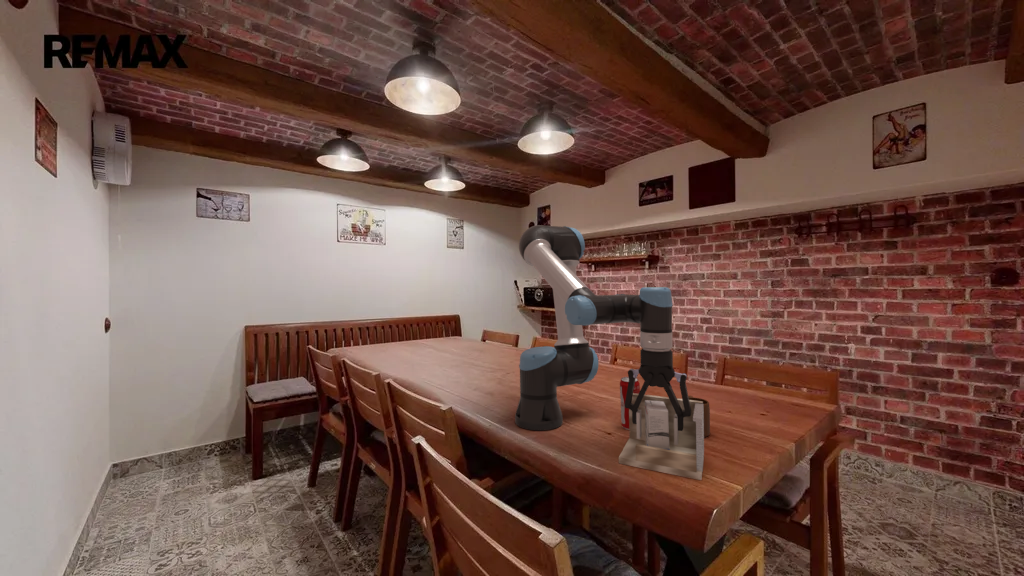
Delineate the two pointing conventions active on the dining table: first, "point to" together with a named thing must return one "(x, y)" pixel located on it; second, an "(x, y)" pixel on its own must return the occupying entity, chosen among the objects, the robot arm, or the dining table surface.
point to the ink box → (656, 424)
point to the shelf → (658, 459)
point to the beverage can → (623, 393)
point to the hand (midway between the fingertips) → (657, 439)
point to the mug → (706, 414)
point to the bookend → (699, 435)
